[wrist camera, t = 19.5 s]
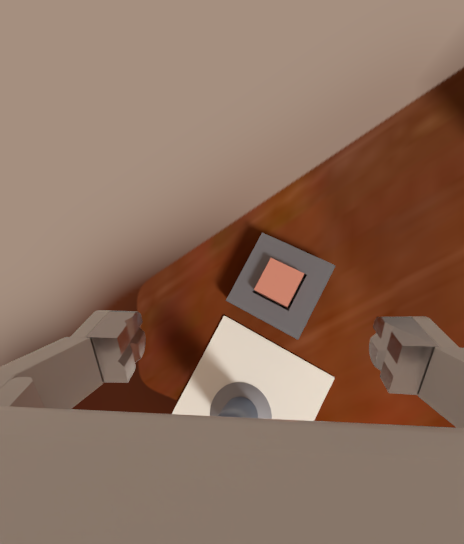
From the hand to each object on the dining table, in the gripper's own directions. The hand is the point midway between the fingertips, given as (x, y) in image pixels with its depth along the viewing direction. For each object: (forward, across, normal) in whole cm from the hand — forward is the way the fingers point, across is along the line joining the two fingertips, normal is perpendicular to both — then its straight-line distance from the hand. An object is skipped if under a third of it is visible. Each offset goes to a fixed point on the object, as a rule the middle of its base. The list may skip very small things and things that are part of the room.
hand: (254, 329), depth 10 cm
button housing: (+26, -4, +12) cm, 29 cm away
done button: (+24, -3, +11) cm, 27 cm away
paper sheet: (+17, +2, +26) cm, 31 cm away
